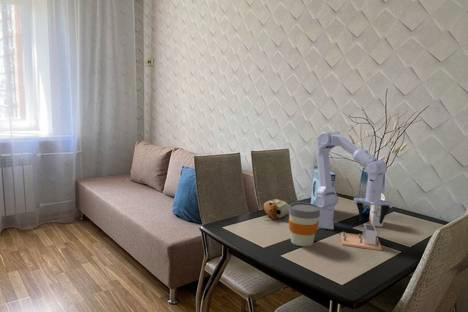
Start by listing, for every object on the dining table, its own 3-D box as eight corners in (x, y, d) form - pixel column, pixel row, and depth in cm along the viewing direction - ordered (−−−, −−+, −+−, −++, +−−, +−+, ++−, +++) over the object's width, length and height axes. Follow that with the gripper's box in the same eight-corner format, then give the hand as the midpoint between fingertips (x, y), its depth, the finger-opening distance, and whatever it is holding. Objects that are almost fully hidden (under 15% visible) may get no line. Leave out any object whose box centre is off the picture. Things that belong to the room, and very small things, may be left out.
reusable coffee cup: (299, 250, 133) (302, 213, 130) (280, 238, 144) (282, 204, 141) (324, 245, 138) (327, 209, 136) (304, 233, 149) (306, 200, 147)
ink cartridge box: (368, 219, 170) (371, 191, 168) (379, 220, 169) (382, 192, 167) (371, 226, 162) (375, 196, 159) (382, 227, 161) (386, 197, 158)
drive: (364, 244, 139) (366, 230, 138) (362, 236, 146) (363, 223, 145) (375, 245, 138) (376, 231, 137) (372, 238, 145) (373, 224, 144)
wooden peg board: (342, 245, 139) (342, 239, 139) (340, 234, 150) (341, 228, 150) (381, 250, 135) (382, 244, 135) (377, 238, 147) (377, 233, 146)
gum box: (310, 206, 188) (313, 165, 184) (319, 206, 188) (322, 166, 184) (321, 219, 169) (325, 173, 165) (332, 219, 169) (336, 174, 165)
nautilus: (276, 227, 157) (248, 221, 166) (296, 213, 174) (271, 208, 183) (275, 211, 155) (248, 205, 164) (296, 198, 172) (270, 193, 181)
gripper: (356, 190, 136) (352, 222, 139) (395, 194, 133) (391, 227, 135) (354, 186, 143) (351, 217, 145) (392, 189, 139) (388, 221, 142)
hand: (370, 221), depth 141 cm, fingers open, 7 cm apart
